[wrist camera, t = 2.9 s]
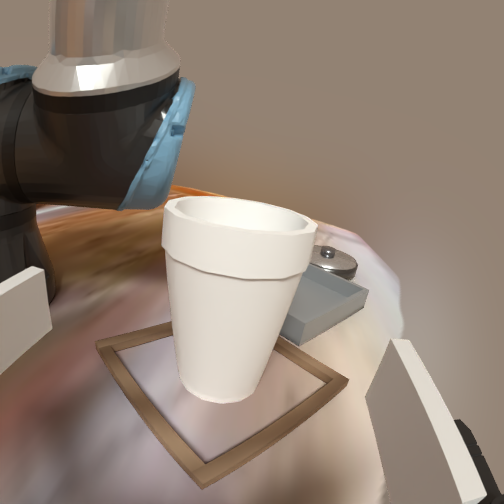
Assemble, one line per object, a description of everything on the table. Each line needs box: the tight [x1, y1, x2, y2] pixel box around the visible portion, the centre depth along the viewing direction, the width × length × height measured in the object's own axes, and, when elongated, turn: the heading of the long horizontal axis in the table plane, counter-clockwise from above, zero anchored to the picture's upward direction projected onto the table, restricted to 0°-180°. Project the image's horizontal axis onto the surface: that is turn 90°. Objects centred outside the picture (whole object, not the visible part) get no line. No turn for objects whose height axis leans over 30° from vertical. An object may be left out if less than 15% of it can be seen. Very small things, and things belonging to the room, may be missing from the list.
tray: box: [279, 263, 369, 346], centre depth 38 cm, size 14×14×3 cm
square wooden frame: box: [95, 321, 349, 489], centre depth 23 cm, size 15×15×1 cm
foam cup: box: [161, 196, 318, 404], centre depth 21 cm, size 10×9×13 cm
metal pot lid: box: [310, 245, 358, 281], centre depth 50 cm, size 11×11×4 cm
